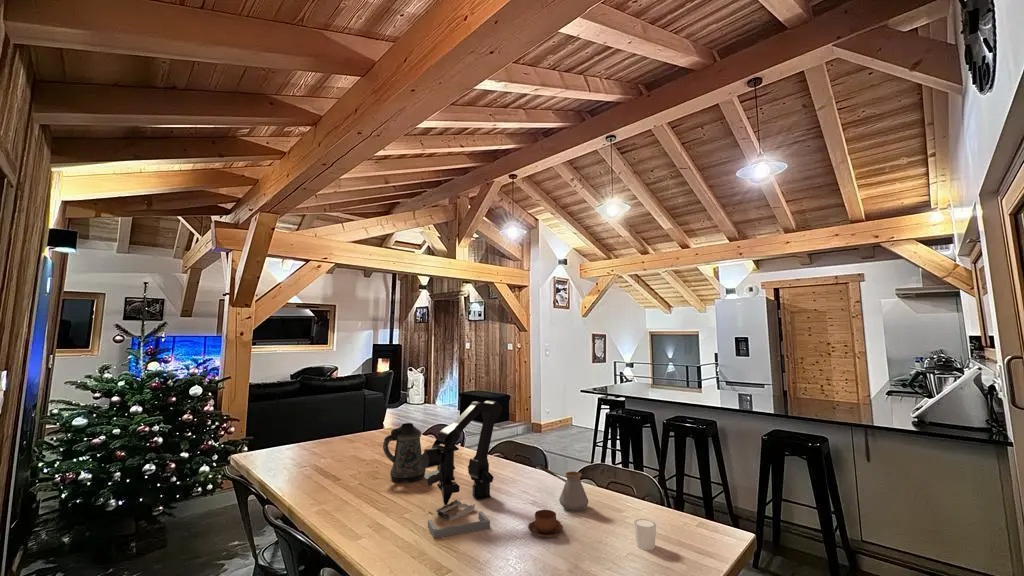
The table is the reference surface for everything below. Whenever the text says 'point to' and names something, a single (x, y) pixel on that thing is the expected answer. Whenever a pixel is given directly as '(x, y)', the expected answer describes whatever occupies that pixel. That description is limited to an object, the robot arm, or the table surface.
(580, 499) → the grey coffee pot
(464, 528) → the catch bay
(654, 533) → the shot glass
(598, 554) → the table surface
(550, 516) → the cup and saucer
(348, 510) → the table surface
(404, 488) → the table surface
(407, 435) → the beer stein
